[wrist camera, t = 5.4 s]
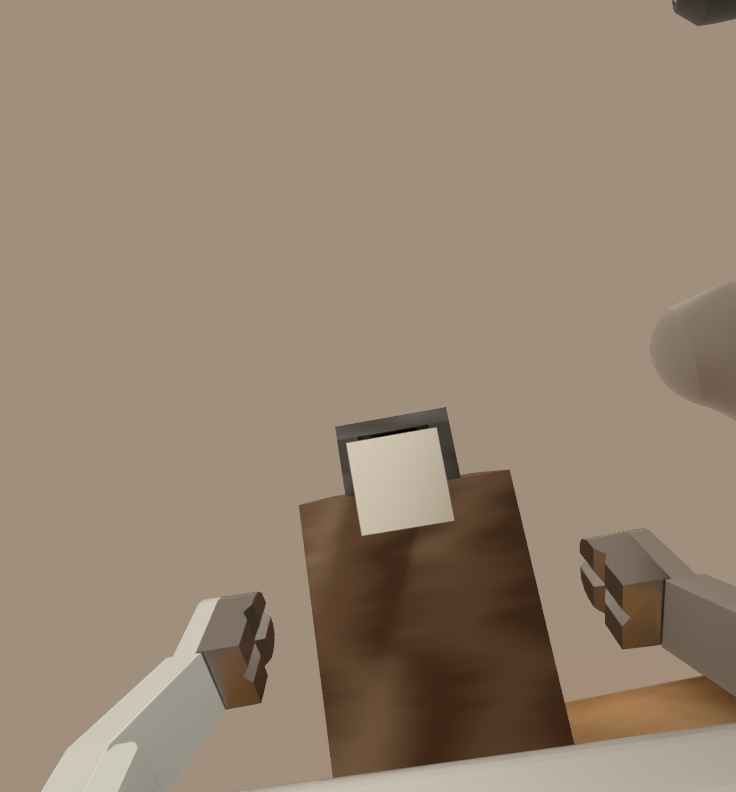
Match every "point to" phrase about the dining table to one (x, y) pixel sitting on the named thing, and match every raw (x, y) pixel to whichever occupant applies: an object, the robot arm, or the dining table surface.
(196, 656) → the robot arm
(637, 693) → the dining table surface
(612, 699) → the dining table surface
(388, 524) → the cream long block
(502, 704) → the stand
